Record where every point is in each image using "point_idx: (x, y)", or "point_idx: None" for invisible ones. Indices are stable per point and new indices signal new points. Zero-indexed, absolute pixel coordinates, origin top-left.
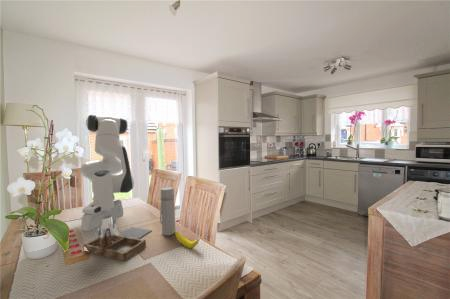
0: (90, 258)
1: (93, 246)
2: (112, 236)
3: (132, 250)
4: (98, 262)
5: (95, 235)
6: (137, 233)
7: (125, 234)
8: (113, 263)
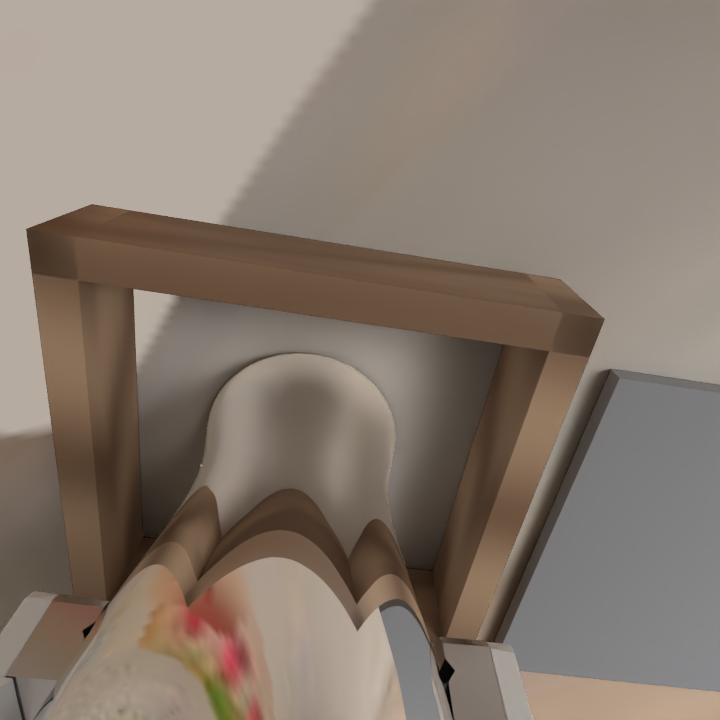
0: (8, 450)
1: (71, 452)
2: (500, 453)
3: None
4: (2, 575)
5: (28, 600)
6: (681, 608)
7: (668, 489)
8: None
